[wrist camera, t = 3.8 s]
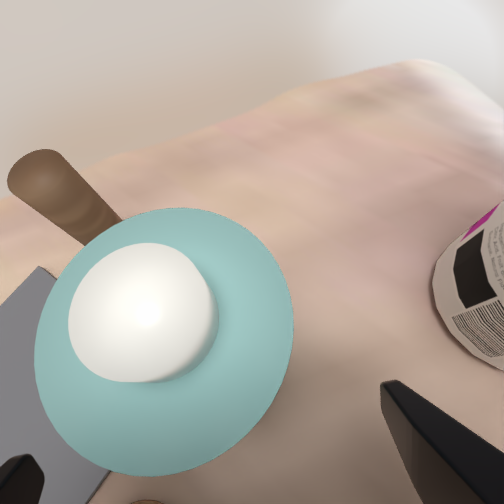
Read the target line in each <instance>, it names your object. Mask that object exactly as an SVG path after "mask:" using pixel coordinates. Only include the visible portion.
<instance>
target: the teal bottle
mask: <svg viewBox="0 0 504 504" xmlns="http://www.w3.org/2000/svg"><path fill="white" fill-rule="evenodd" d="M293 331H294V325H293V309H292V303H291V297H290V293H289V290H288V287H287V284H286V280H285V278H284V276H283V274H282V271H281V269H280V267H279V265H278V264H277V262H276V260H275V259H274V257H273V256H272V254H271V253H270V251H269V250H268V249H267V248H266V247H265V246H264V244H263V243H262V242H261V241H260V240H259V239H258V238H257V237H256V236H254V235H253V234H252V233H251V232H250V231H249V230H247V229H246V228H244V227H243V226H241V225H240V224H238V223H236V222H234V221H232V220H230V219H228V218H226V217H224V216H221V215H219V214H216V213H213V212H209V211H204V210H200V209H191V208H167V209H160V210H154V211H150V212H146V213H142V214H139V215H136V216H134V217H131V218H128V219H126V220H124V221H122V222H120V223H118V224H116V225H114V226H112V227H110V228H109V229H107V230H106V231H104V232H103V233H101V234H99V235H98V236H97V237H96V238H94V239H93V240H92V241H91V242H89V243H88V244H87V245H86V246H85V247H84V248H83V249H82V250H81V251H80V252H79V253H78V254H77V255H76V256H75V257H74V258H73V259H72V260H71V262H70V263H69V264H68V265H67V266H66V268H65V269H64V270H63V272H62V273H61V275H60V276H59V278H58V279H57V281H56V282H55V284H54V286H53V288H52V290H51V292H50V294H49V296H48V298H47V300H46V303H45V305H44V308H43V310H42V313H41V317H40V320H39V324H38V328H37V333H36V340H35V348H34V368H35V377H36V384H37V388H38V392H39V396H40V399H41V402H42V404H43V407H44V409H45V412H46V414H47V416H48V418H49V419H50V421H51V423H52V424H53V426H54V428H55V429H56V431H57V432H58V433H59V434H60V436H61V437H62V438H63V439H64V440H65V442H66V443H67V444H68V445H69V446H70V447H72V448H73V449H74V450H75V451H76V452H77V453H79V454H80V455H81V456H82V457H84V458H86V459H88V460H89V461H91V462H93V463H94V464H96V465H98V466H100V467H103V468H106V469H108V470H111V471H113V472H117V473H122V474H127V475H132V476H149V477H155V476H163V475H171V474H176V473H179V472H183V471H187V470H190V469H193V468H196V467H198V466H200V465H202V464H205V463H207V462H209V461H211V460H213V459H215V458H216V457H218V456H219V455H221V454H223V453H224V452H226V451H227V450H229V449H230V448H232V447H233V446H234V445H235V444H236V443H237V442H239V441H240V440H241V439H242V438H243V437H245V436H246V435H247V434H248V433H249V431H250V430H251V429H252V428H253V427H254V426H255V425H256V424H257V423H258V422H259V420H260V419H261V418H262V416H263V415H264V413H265V412H266V410H267V409H268V408H269V406H270V405H271V403H272V401H273V400H274V398H275V396H276V394H277V392H278V390H279V388H280V386H281V384H282V381H283V378H284V375H285V373H286V370H287V367H288V363H289V359H290V354H291V350H292V342H293Z"/></svg>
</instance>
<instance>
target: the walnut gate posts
mask: <svg viewBox="0 0 504 504" xmlns="http://www.w3.org/2000/svg"><path fill="white" fill-rule="evenodd" d="M7 183H8V188H9V190H10V191H11V192H12V193H13V194H14V195H15V196H17V197H18V198H20V199H21V200H22V201H24V202H25V203H26V204H28V205H29V206H31V207H32V208H33V209H35V210H36V211H37V212H39V213H40V214H42V215H43V216H44V217H46V218H47V219H49V220H50V221H51V222H53V223H54V224H55V225H57V226H58V227H60V228H61V229H62V230H64V231H65V232H66V233H68V234H69V235H71V236H72V237H73V238H75V239H76V240H77V241H79V242H80V243H82V244H83V245H84V246H86V245H87V244H88V243H89V242H91V241H92V240H93V239H94V238H96V237H97V236H98V235H99V234H101V233H103V232H104V231H106V230H107V229H109V228H110V227H112V226H114V225H116V224H118V223H120V222H122V221H124V220H122V219H121V218H120V217H119V216H118V215H117V214H116V213H115V212H114V211H113V210H112V209H111V208H110V206H109V205H108V204H107V203H106V202H105V201H104V200H103V199H102V198H101V197H100V196H99V195H98V194H97V193H96V192H95V190H94V189H93V188H92V187H91V186H90V185H89V184H88V183H87V182H86V181H85V180H84V179H83V178H82V177H81V176H80V175H79V173H78V172H77V171H76V170H75V169H74V168H73V167H72V166H71V165H70V164H69V163H68V162H67V161H66V160H65V159H64V157H62V155H61V154H59V153H58V152H56V151H53V150H50V149H42V150H37V151H33V152H31V153H29V154H27V155H25V156H23V157H22V158H21V159H19V160H18V161H17V162H16V163H15V164H14V165H13V167H12V168H11V170H10V172H9V175H8V179H7ZM125 220H126V219H125ZM131 504H163V503H161V502H158V501H153V500H141V501H136V502H133V503H131Z"/></svg>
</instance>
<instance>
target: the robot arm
mask: <svg viewBox="0 0 504 504" xmlns="http://www.w3.org/2000/svg"><path fill="white" fill-rule="evenodd" d="M380 396H381V409H382V413H383V416H384V418H385V420H386V423H387V425H388V427H389V430H390V432H391V434H392V437H393V439H394V442H395V444H396V446H397V449H398V451H399V453H400V456H401V458H402V460H403V463H404V465H405V467H406V470H407V472H408V474H409V477H410V479H411V481H412V483H413V485H414V487H415V489H416V491H417V493H418V494H419V496H420V498H421V500H422V502H423V504H504V453H503V452H501V451H500V450H498V449H497V448H495V447H494V446H493V445H491V444H490V443H488V442H487V441H485V440H484V439H482V438H481V437H480V436H478V435H477V434H475V433H474V432H472V431H471V430H469V429H468V428H467V427H465V426H464V425H462V424H461V423H459V422H458V421H456V420H455V419H454V418H452V417H451V416H449V415H448V414H446V413H445V412H443V411H442V410H441V409H439V408H438V407H436V406H435V405H433V404H432V403H430V402H429V401H428V400H426V399H425V398H423V397H422V396H420V395H419V394H417V393H416V392H414V391H413V390H412V389H410V388H409V387H407V386H406V385H404V384H403V383H401V382H400V381H398V380H390V381H385V382H382V383H381V385H380ZM44 483H45V475H44V472H43V471H42V469H41V468H40V466H39V465H38V463H37V462H36V460H35V459H34V457H33V456H32V455H31V454H22V455H17V456H13V457H11V458H10V459H8V460H7V461H6V462H5V463H4V464H3V465H2V466H0V504H39V501H40V497H41V494H42V490H43V487H44Z"/></svg>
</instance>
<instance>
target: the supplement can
mask: <svg viewBox="0 0 504 504" xmlns="http://www.w3.org/2000/svg"><path fill="white" fill-rule="evenodd" d="M432 286H433V291H434V297H435V302H436V308H437V310H438V311H439V313H440V315H441V317H442V319H443V320H444V322H445V324H446V326H447V327H448V329H449V331H450V333H451V334H452V335H453V336H454V337H455V338H456V339H457V340H458V341H459V342H460V343H461V344H463V345H464V346H465V347H466V348H467V349H468V350H469V351H470V352H471V353H472V354H473V355H474V356H476V357H478V358H480V359H482V360H484V361H485V362H487V363H489V364H491V365H493V366H495V367H496V368H498V369H500V370H502V371H504V200H503V201H502V202H501V203H499V204H498V205H497V206H496V207H495V208H493V209H492V210H491V211H490V212H488V213H487V214H486V215H485V216H484V217H482V218H481V219H480V220H479V221H478V222H476V223H475V224H474V225H473V226H472V227H470V228H469V229H468V230H467V231H465V232H464V233H463V234H462V235H461V236H459V237H458V238H457V239H456V240H455V241H453V242H452V243H451V244H450V245H449V246H448V247H447V249H446V250H445V251H444V253H443V254H442V255H441V257H440V258H439V259H438V260H437V263H436V267H435V272H434V276H433V281H432Z"/></svg>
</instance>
